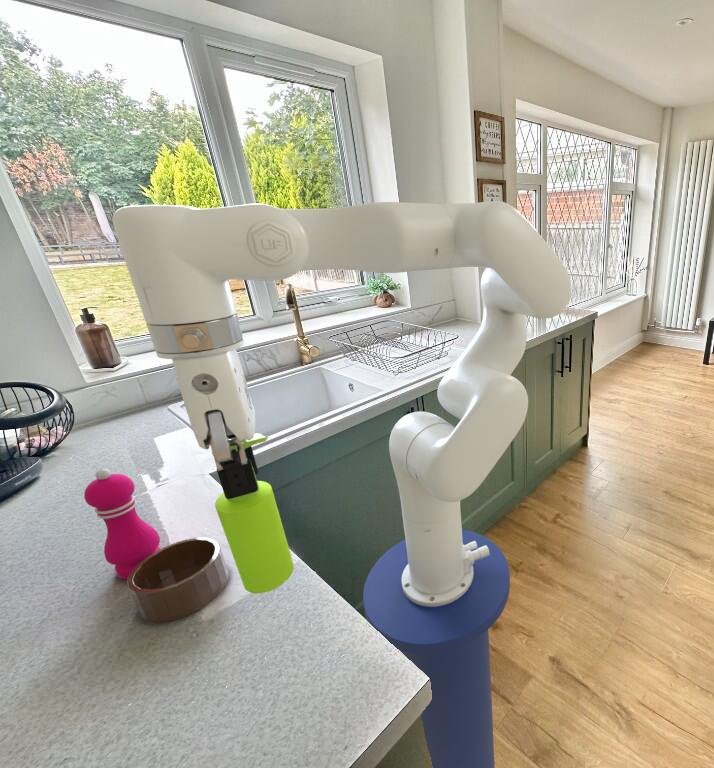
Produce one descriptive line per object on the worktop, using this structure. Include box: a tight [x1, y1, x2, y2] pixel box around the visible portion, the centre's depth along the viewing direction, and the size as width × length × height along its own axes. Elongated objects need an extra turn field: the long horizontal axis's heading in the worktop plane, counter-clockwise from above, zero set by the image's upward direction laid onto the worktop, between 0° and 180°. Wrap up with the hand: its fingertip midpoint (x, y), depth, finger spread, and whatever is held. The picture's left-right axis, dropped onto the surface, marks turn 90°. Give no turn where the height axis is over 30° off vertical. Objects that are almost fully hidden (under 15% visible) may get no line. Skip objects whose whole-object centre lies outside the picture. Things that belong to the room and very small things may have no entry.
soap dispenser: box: [211, 432, 295, 594], centre depth 51 cm, size 6×7×20 cm
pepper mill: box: [83, 468, 161, 580], centre depth 70 cm, size 7×7×20 cm
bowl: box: [126, 536, 230, 624], centre depth 68 cm, size 12×12×6 cm
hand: (242, 484), depth 49 cm, fingers closed on soap dispenser, 3 cm apart
